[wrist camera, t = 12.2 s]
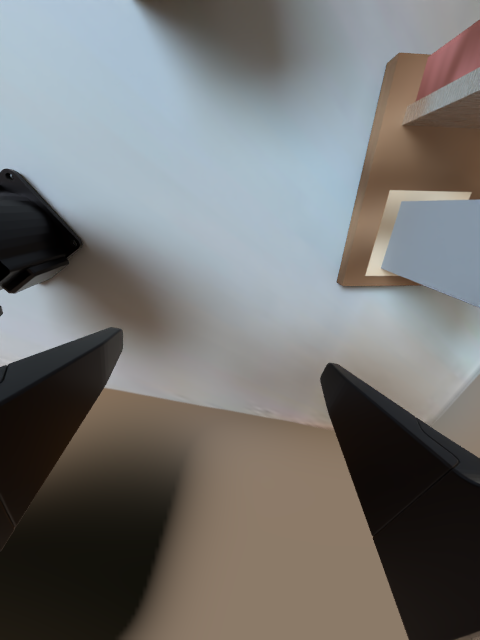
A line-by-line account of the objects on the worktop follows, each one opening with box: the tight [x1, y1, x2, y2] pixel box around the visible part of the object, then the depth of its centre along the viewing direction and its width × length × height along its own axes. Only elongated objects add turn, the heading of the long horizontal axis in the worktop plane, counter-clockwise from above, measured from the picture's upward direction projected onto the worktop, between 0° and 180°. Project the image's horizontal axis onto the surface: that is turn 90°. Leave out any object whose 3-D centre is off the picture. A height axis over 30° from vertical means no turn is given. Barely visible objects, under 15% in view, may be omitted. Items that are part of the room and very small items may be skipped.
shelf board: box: [337, 20, 480, 286], centre depth 15 cm, size 16×11×8 cm
